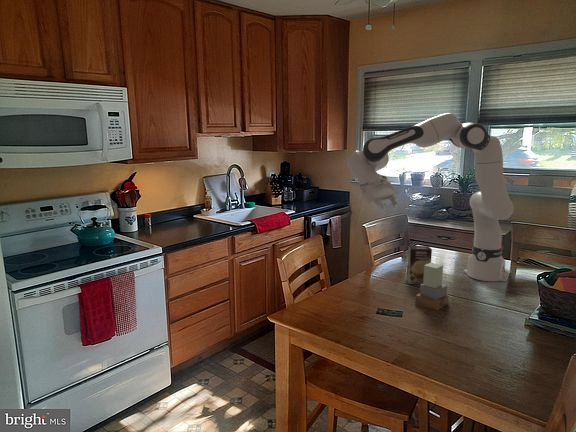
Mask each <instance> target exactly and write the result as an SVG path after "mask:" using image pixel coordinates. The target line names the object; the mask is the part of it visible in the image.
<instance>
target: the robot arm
mask: <svg viewBox="0 0 576 432" xmlns="http://www.w3.org/2000/svg"><path fill="white" fill-rule="evenodd" d="M444 140H449V141H450V142H451V143H452V145H454V146H455V147H457V148H461V149H464V150H467V149H468V150H469V149H470V150H472V152H473V154H474V155H473V156H474V171H475V182H476V184H477V186H478V188H479V191H475V192H474V193H473V194H472V195H471V197H469V206H470V208H471V212H472V218H473V226H474V236H473V237H474V238H473V245H472V248H471V250H472V251H471V253H472V254H470V255H469V256H468V258H467V259H468V260H467V266H466V268H465V269H464V270H463V273H464V274H466V275H467V276H468V277H469V278H472V279H474V280H478V281H484V282H507V281H508V279H509V276H510V274H511V270H510V269H507V268H506V259H504V258H503V256H502V254H503V249H504V246H501V245H502V237H503V235H502V234H503V231H502V228H501V226H500V222H499V221H504V220H506V219H509V218H511V216H512V214H513V213H514V209H515V205H514V203H513V202H512V200H511V198H510V196H509V193H508V189H507V187H506V183H505V178H504V177H505V176H504V155H503V149H502V144H501V140H500V138H498V137H496V136H493V135H489V132H488V131H487V129H486V128H485V127H484V126H483V125H482V124H481V123H479V122H460V121H459V118H458V117H457V115H455V114H454V113H453V112H446V113H442V114H439V115H436V116H433V117H431V118H428V119H427V120H424V121H421V122H420V123H417V124H415V125H412V126H408V127H406V128H403V129H401V130H398V131H396V132H392V133H390V134H388V135H384V136H377V137H371V138H369V139H368V140H366V142H365V143H364V144H363V146H362V150H355V151H353V152H351V154H349V155H348V157H347V159H346V165H347V168H348V169H349V171H350V172H351V174H352V175H353V177H354V178H356V179H357V180H358V183H359V189H360V190H361V194H362V196H363V197H364V199H365V201H367V202H368V203H369V204H372V203H374V204H375V205H377V206H379V207H380V209H381V210H384V209H386V208H387V205H386V204H385V203H383V201H386V200H390V201H391V205H392V206H393V207H397V206H398V205H399V203H398V202H397V200H396V196H397V195H398V191H397V189H396V188H395V187H394V185H393V184H392V183H391V182H390V181H389V178H388V177H387V176H386V175H383V174H380V173H378V171H381V169H384V168H385V167H386V166H387V165H388V163H389V160H390V157H389V153H390V152H391V151H393V150H395V149H397V148H400V147H403V146H405V145H407V144H412V145H413V144H414V145H416V146H417V147H419V148H422V149H423V148H428V147H431V146H435V145H437V144H439V143H440V142H441V143H442V142H443V141H444Z"/></svg>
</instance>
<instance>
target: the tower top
mask: <svg viewBox="0 0 576 432" xmlns="http://www.w3.org/2000/svg"><path fill="white" fill-rule="evenodd" d="M419 285H420V287H419V289H420V290H419V293H420V295H423V296H426V297H429V298H432V299H435V300H437V299H439V298H442V297H444V296H446V295H448V293H447V292H448V291H447V290H448V285H446V284H444V283H442V285H441V286H439V287H437V288H431V287H428V286H425V285H423V284H419Z"/></svg>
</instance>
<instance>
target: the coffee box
mask: <svg viewBox="0 0 576 432" xmlns="http://www.w3.org/2000/svg"><path fill="white" fill-rule="evenodd" d="M432 252H433V249H432V248H431V247H430V246H429V245H408V246H407V259H406V260H407V261H406V262H407V263H406V278H405V279H406V281H407V283H408V284H409V285H412V284H413V285H421V284H423V278H424V265H426V264H429V263H432Z"/></svg>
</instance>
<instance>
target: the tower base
mask: <svg viewBox="0 0 576 432" xmlns="http://www.w3.org/2000/svg"><path fill="white" fill-rule="evenodd" d="M449 296H450V295H449V294H447V295H446V296H444V297H442V298H439V299H437V300H435V299H432V298H429V297H426V296H423V295H420V292H419V293H417V294H416V295H415V302H414V303H415V305H417V306H421V307H425V308H427V309H431V310H434V311H439V310H441V309H443V307H445V306H447V305H448V304H449Z"/></svg>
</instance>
